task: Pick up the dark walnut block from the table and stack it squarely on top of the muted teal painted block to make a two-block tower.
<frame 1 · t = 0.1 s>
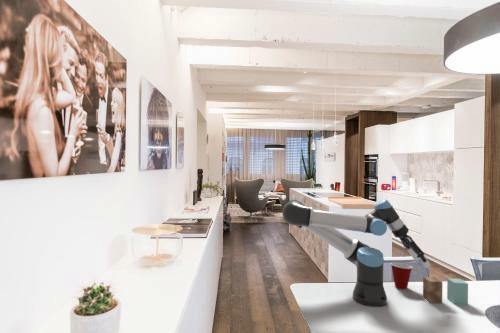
hand: (422, 262, 153), 15 cm above the table, tool tilted 35°, fingers open, 13 cm apart
teal block: (457, 302, 143), on the table
walnut block: (432, 300, 145), on the table
plastic cup: (401, 287, 161), on the table
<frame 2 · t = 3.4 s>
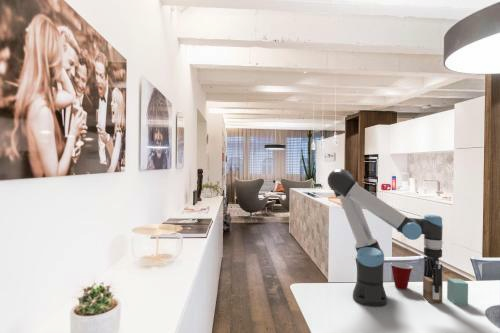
hand: (432, 296, 145), 2 cm above the table, tool pointing down, fingers closed on walnut block, 6 cm apart
walnut block: (432, 300, 145), on the table, touching gripper
everything else where it was.
when the fingers open (13 cm above the table, at t = 7.7 s): walnut block drops 1 cm, resting on teal block.
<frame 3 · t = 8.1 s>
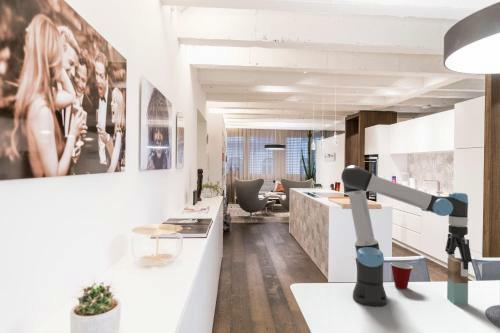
hand: (457, 271, 143), 14 cm above the table, tool pointing down, fingers open, 11 cm apart
teal block: (457, 302, 143), on the table, touching walnut block
walnut block: (457, 280, 143), point 10 cm above the table, touching teal block
everything else where it was.
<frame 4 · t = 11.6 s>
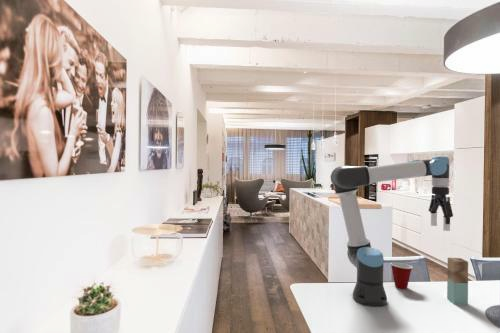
hand: (439, 228, 155), 33 cm above the table, tool pointing down, fingers open, 13 cm apart
nothing on the table moved.
at the end: walnut block 0.0 cm off-centre on the teal block, point 10.0 cm above the teal block's base; walnut block tilted 0°; teal block moved 0.0 cm from its start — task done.
